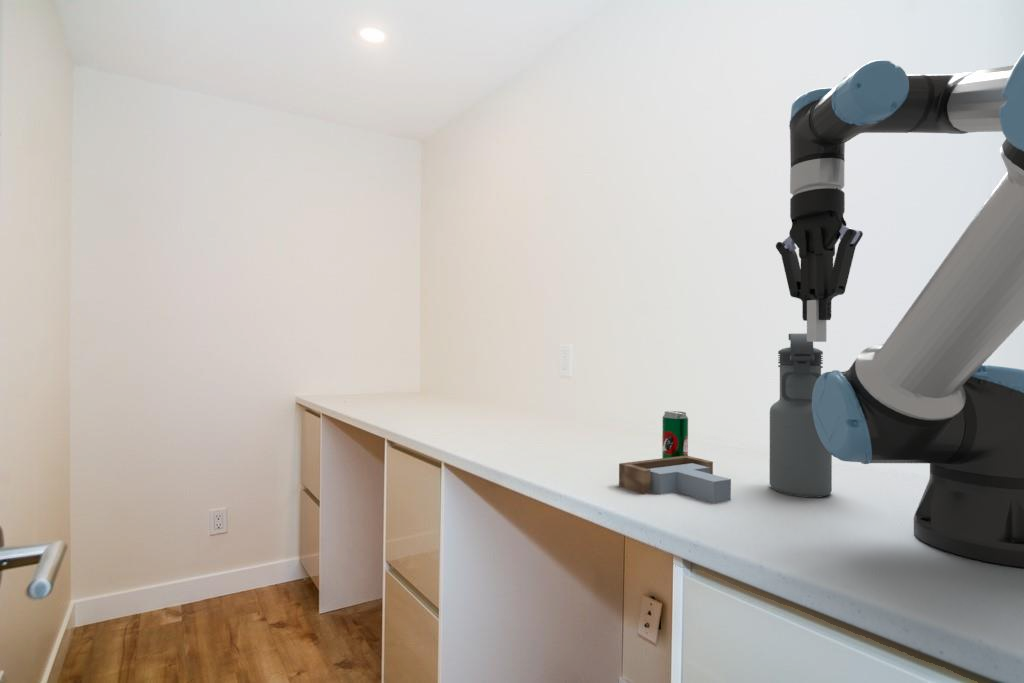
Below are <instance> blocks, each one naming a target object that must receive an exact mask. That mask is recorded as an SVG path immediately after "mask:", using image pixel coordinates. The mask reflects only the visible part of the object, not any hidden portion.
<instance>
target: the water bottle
mask: <svg viewBox="0 0 1024 683" xmlns="http://www.w3.org/2000/svg"><path fill="white" fill-rule="evenodd" d="M788 340H789V342H790V343H789V344H790V347H789V346H788V347H785V348H784V347H783V348H782V349H780V350H778V352H777V354H778V359H777V361H778V362H777V364H778V366H777V367H778V368H779V399H778V400H777V401H776V402H774V403H773V404H772V405H771V406H770V408H769V485H770V487H771V488H772V489H773V490H774V491H776V492H779V493H782V494H785V495H790V496H794V497H795V496H796V497H803V498H821V497H825V496H828V495H830V494H831V493H832V489H833V488H832V486H833V484H832V481H833V478H832V477H833V476H832V472H833V470H832V469H833V459H832V458H833V455H831V454H830V453H829V452H828V451H827V449H826V448H825V447H824V445H823V444H822V442H821V440H820V438H819V436H818V433H817V430H816V427H815V423H814V419H813V410H812V394H813V389H814V385H815V383H816V381H817V379H818V378H819V377H820V376H821V375H822V368H824V367H823V364H824V363H823V361H824V357H823V355H824V352H823V351H822V350H820V349H819V348H816V347H814V342H807V333H788Z"/></svg>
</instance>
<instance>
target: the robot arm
mask: <svg viewBox="0 0 1024 683" xmlns="http://www.w3.org/2000/svg"><path fill="white" fill-rule="evenodd" d="M981 132H982V133H984V132H985V133H991V132H994V133H996V132H999V133H1001V132H1002V134H1003V135H1004V138H1006V139H1005V140H1004V141H1003V143H1002V144H1001V146H1000V148H999V152H1000V156H1001V158H1002V160H1003V163H1004V165H1005V168H1006V172H1005V174H1004V175H1003V177H1002V178H1001V179H1000V181H999V182H998V183H997V185H996V187H995V188H994V189H993V191H992V192H991V193H990V195H989V196H988V197H987V199H986V201H985V202H984V203H983V205H982V206H981V208H980V209H979V210H978V212H977V213H976V215H975V216H974V217H973V219H972V220H971V221H970V222H969V224H968V226H967V227H966V229H965V230H964V231H963V233H962V234H961V235H960V237H959V238H958V240H957V241H956V242H955V244H954V245H953V247H952V248H951V250H950V251H949V252H948V253H947V255H946V256H945V258H944V259H943V261H941V264H940V265H939V266H938V268H937V269H936V270H935V272H934V273H933V274H932V276H931V277H930V279H929V280H928V282H927V283H926V285H925V286H924V287H923V289H922V290H921V292H920V293H919V294H918V296H917V297H916V298H915V300H914V301H913V303H912V304H911V306H910V307H909V308H908V310H907V311H906V312H905V314H904V315H903V317H902V318H901V319H900V321H899V322H898V324H897V326H895V328H894V329H893V331H892V332H891V333H890V335H889V336H888V338H887V339H886V340H885V342H884V343H878V344H874V345H871V346H868V347H866V348H865V349H863V350H862V351H860V353H859V354H858V356H857V357H856V359H855V360H854V361H853V363H852V364H851V366H850V367H849V369H847V370H845V371H840V370H839V369H837V370H835V369H834V370H832V371H825V372H823V373H821V376H820V377H819V378H818V379H817V381H816V383H815V385H814V389H813V394H812V410H813V419H814V423H815V427H816V430H817V433H818V436H819V438H820V440H821V442H822V444H823V445H824V447H825V448H826V449H827V451H828V452H829V453H830V454H831V455H832V457H834V458H837V459H838V460H840V461H843V462H849V463H850V462H851V463H852V462H853V463H861V464H863V465H869V464H929V480H928V482H927V484H926V487H925V489H924V492H923V494H922V495H921V496H922V497H921V498H920V501H919V504H918V506H917V508H916V511H915V513H914V515H913V516H914V517H913V534H914V536H915V537H916V538H917V539H919V540H920V541H921V542H924V543H925V544H928V545H930V546H932V547H934V548H937V549H940V550H942V551H945V552H949V553H951V554H954V555H955V554H956V555H958V556H962V557H966V558H970V559H974V560H978V561H982V562H988V563H993V564H997V565H1003V566H1004V565H1005V566H1013V567H1020V568H1024V369H1020V368H1015V367H1007V366H999V365H990V364H988V365H987V364H984V363H985V362H986V361H987V360H988V359H989V358H990V357H991V356H992V355H993V354H994V353H995V352H996V351H997V350H998V348H999V347H1000V346H1001V345H1002V344H1003V343H1004V342H1005V341H1006V340H1007V339H1008V338H1009V337H1010V336H1011V334H1013V333H1014V332H1015V330H1017V328H1018V327H1020V325H1021V324H1022V323H1023V322H1024V51H1023V52H1022V54H1021V55H1020V57H1019V58H1018V60H1017V61H1016V63H1015V64H1013V65H1006V66H1002V67H1001V66H1000V67H994V68H989V69H988V68H987V69H980V70H976V71H975V70H974V71H968V72H967V71H966V72H962V73H961V72H960V73H953V74H952V73H951V74H915V73H914V74H913V73H911V74H910V73H908V74H907V73H906V71H905V70H904V68H902V67H901V66H900V65H897V64H894V63H893V62H891V60H888V59H887V60H886V59H878V60H877V59H876V60H872V61H869V62H866V63H865V64H863V65H862V66H860V67H859V68H858V69H856V70H855V71H852V72H851V73H850V74H847V75H846V76H845V77H843V79H842V80H840V82H839V83H838V84H837V85H836V86H835V87H821V88H816V89H812V90H808V91H807V92H806V93H803V94H801V95H799V96H798V97H797V98H796V99H794V101H793V102H792V104H791V109H790V119H789V143H790V145H789V146H790V147H789V148H790V155H789V156H790V159H789V160H790V174H789V176H790V177H789V179H790V180H789V183H790V184H789V193H790V194H791V195H792V196H791V198H790V202H789V203H790V204H789V208H790V209H789V217H790V220H791V228H790V229H789V233H788V234H789V235H788V236H787V238H785V239H784V240H783V241H782V242H781V241H778V242H776V244H775V249H776V250H777V252H779V255H780V256H781V259H782V260H781V261H782V264H783V267H784V268H783V269H784V272H785V273H784V274H785V278H786V281H787V286H788V287H787V288H788V291H789V295H790V297H791V298H795V299H798V300H801V302H802V306H801V307H802V320H803V321H806V334H807V342H813V343H815V342H817V343H818V342H819V343H822V342H824V343H826V342H827V321H830V320H831V319H832V300H833V299H834V298H835V297H837V296H842V295H844V294H845V292H846V288H847V284H848V280H849V276H850V272H851V269H852V263H853V260H854V256H855V252H856V247H857V245H858V244H859V242H860V241H861V239H862V237H863V234H864V233H863V231H862V230H859V229H853V228H851V227H849V226H847V222H846V220H845V218H844V214H845V209H846V208H845V199H846V197H845V191H843V189H844V187H845V150H846V149H845V147H846V143H847V142H849V141H850V140H852V139H853V138H855V137H857V136H858V135H860V134H865V133H867V134H870V133H871V134H872V133H873V134H875V133H876V134H877V133H879V134H880V133H881V134H882V133H885V134H893V133H894V134H897V133H898V134H904V133H905V134H908V133H917V134H920V133H921V134H923V133H924V134H927V133H928V134H953V135H956V134H957V135H963V134H968V133H969V134H970V133H981ZM839 240H840V241H839ZM837 242H839V243H838V245H837V250H836V244H837ZM797 248H798V254H797V251H796V250H797ZM799 259H800V261H799ZM983 364H984V365H983Z"/></svg>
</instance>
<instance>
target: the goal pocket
mask: <svg viewBox="0 0 1024 683" xmlns="http://www.w3.org/2000/svg"><path fill="white" fill-rule="evenodd" d="M690 463H694V464H698V465H702V466H706V467H709V474H713V475H714V461H712V460H708V459H703V458H699V457H694V456H691V455H688V456H678V457H670V458H662V457H661V458H653V459H645V460H637V461H631V462H629V461H628V462H620V463H618V486H620V487H623V488H625V489H628V490H631V491H634V492H637V493H639V494H642V495H644V494H645V495H647V494H651V491H650V470H649V469H652V468H659V467H667V466H675V465H683V464H690Z"/></svg>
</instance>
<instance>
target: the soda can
mask: <svg viewBox="0 0 1024 683" xmlns="http://www.w3.org/2000/svg"><path fill="white" fill-rule="evenodd" d="M661 437H662V440H661V441H662V444H661V446H662V450H661V451H662V455H661V456H662V457H661V458H670V457H678V456H689V418H688V416H687V412H684V411H679V410H678V411H677V410H675V411H674V410H669V411H666V410H665V411H664V414H663V416H662V436H661Z"/></svg>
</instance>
